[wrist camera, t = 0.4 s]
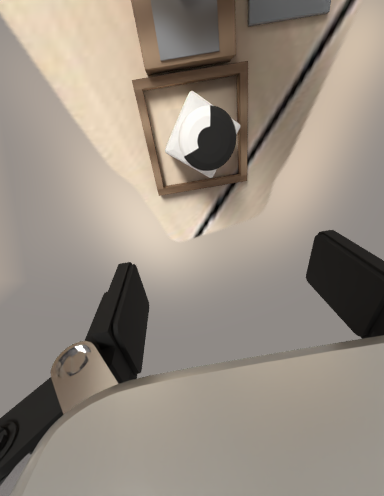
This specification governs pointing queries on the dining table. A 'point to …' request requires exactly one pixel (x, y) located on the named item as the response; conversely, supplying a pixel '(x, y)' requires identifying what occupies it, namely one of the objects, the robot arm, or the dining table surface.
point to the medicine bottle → (202, 135)
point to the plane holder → (189, 65)
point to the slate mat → (284, 10)
